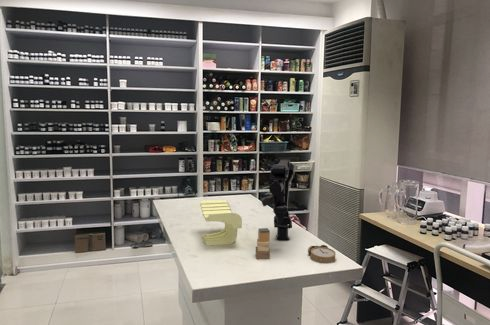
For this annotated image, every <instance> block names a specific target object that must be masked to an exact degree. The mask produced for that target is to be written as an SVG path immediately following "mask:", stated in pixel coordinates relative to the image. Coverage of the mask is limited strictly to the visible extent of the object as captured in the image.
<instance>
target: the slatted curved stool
mask: <svg viewBox="0 0 490 325" xmlns="http://www.w3.org/2000/svg"><path fill="white" fill-rule="evenodd" d="M199 204H200V208H201V213H202V217H203V218H204V220H205V222H219V223H224V228H223V229H222V230H220V231H218V232H213V233H203V234H202V239H203V241H204V244H205V245H206V246H213V245H217V246H218V245H227V244H228V245H230V244H233V243H235V241H236V240H237V238H238V229H242V228H243V226H242V224H243V220H242V216H241V215H240V214H239V213H235V212H232V209H231V206H230V204H229V202H228V201H227V200H225V199H215V200H214V199H211V200H209V199H208V200H200V201H199Z"/></svg>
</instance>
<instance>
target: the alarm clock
mask: <svg viewBox="0 0 490 325" xmlns="http://www.w3.org/2000/svg"><path fill="white" fill-rule="evenodd" d="M307 253H308V255H309V256H310V260H312V261H313V262H315V263H319V264H330V263H331V262H332V263H334V262H335V261H337V258H336V251H335V250H334V249H333V248H329V247H328V246H327V245H326V244H321V245H310V246H309V247H308V248H307Z"/></svg>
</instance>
